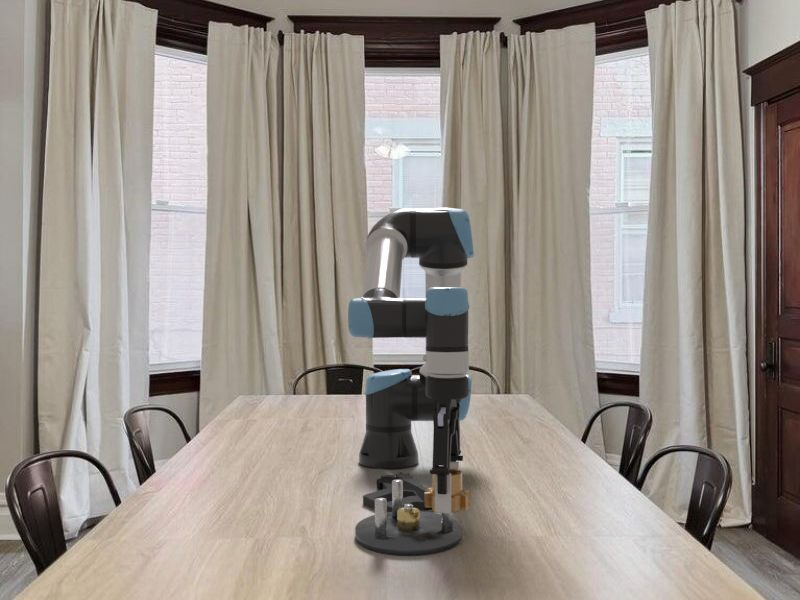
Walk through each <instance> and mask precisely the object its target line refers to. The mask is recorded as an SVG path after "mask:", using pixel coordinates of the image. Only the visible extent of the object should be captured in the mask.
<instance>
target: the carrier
mask: <svg viewBox="0 0 800 600" xmlns="http://www.w3.org/2000/svg"><path fill="white" fill-rule="evenodd" d="M354 530H355V531H354V538H355V542H357V544H358V545H360V546H361V547H362V548H365V549H366V550H369V551H371V552H375V553H379V554H384V555H389V556H391V555H392V556H403V557H404V556H406V557H413V556H414V557H415V556H425V555H426V556H429V555H433V554H438V553H442V552H445V551H448V550H451V549H453V548H454V547H457V545H459V544H460V543H461V541H462V540H463V527H462V524H461V523H460V522H459V521H457V520H456V519H455V518H454V513H443V512H441V514H440V513H437V512H429V511H423V510H419V509H417V508H413V505H412V504H405V505H404V508H403V481H402V480H393V481H392V512H387V500H386V499H385V498H376V499H375V510H374V514H372V515H369V516H368V517H365V518H363V519H361V520H359V521H358V523H357V524H356V525H355V529H354Z"/></svg>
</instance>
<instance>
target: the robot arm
mask: <svg viewBox="0 0 800 600" xmlns="http://www.w3.org/2000/svg"><path fill="white" fill-rule="evenodd" d="M469 215H470V214H469V213H468V212H467V211H466V210H465V209H463V208H453V207H438V208H437V207H436V208H434V207H433V208H432V207H431V208H402V209H398V210H395V211H392V212H390V213H388V214H386V215H384V216H383V217H382V218H381V219H379V220H378V221H377V222H376V223H375V224H374V225H373V226H372V228H371V229H370V230H369V232H368V235H367V237H366V242H365V251H366V254H367V256H368V257H367V264H366V271H365V276H364V283H363V288H362V289H363V290H362V296H361V297H357V298H352V299H350V301H349V302H348V309H347V323H348V324H347V326H348V332H349V334H350V335H351V336H352V337H353V338H366V339H373V338H375V339H378V338H380V339H381V338H385V339H386V338H394V339H395V338H406V339H407V338H409V339H410V338H411V339H412V338H413V339H414V338H417V339H419V338H422V339H423V338H425V355H423V356H422V360H423V361H424V364H423V365H422V366H420V368H419V374H412V373H413V372H412V371H411V369H408V368H398V369H397V368H396V369H390V370H384V371H383V370H382V371H379V372H375V373H372V374H370V375H368V377H367V378H366V382H365V391H364V395H365V433H364V437H363V440H362V443H361V446H360V449H359V453H358V463H359V464H360V465H362V466H365V467H367V468H373V469H389V470H390V469H403V468H409V467H412V466H415V465H417V464H418V463H419V451H418V449H417V444H416V442H415V439H414V436H413V432H412V422H433V439H432V440H433V442H432V468H431V469H429V473H430V475H432V474H435V512H434V513H442V512H443V513H451V474H450V469H457V470H460V466H459V465H460V462H463V460H464V455H461V453H462V450H461V430H460V429H461V426H460V425H461V424H460V422H461V421H464V420H465V419H466V418H467V415H468V413H469V408H470V404H471V396H472V392H471V391H472V376H471V375H469V374H468V373H469V372H470V362H469V361H470V353H469V352H470V351H469V310H470V303H469V292H468V290H467V289H466V288H464V287H462V271H463V270H464V269H465V268H466V267H467V266H468V259H471V258H473V257H474V256H475V254H474V241H473V234H472V227H471V221H470V216H469ZM405 258H411V259H412V258H413V259H417V258H418V266H419V267H420V268H421V269H422V270H423V271H424V272H425V274H424V275H425V276H424V277H425V297H418V298H416V297H415V298H413V297H409V298H408V297H401V285H402V272H403V269H402V268H403V260H405Z"/></svg>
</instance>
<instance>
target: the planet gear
mask: <svg viewBox="0 0 800 600" xmlns="http://www.w3.org/2000/svg"><path fill="white" fill-rule="evenodd" d="M450 474H451V513H453V514H456V512H457V511H467V510H469V507H470V506H471V490H470V489H463V471H462V470H461V469H459V470H457V469H450ZM431 476H432V477H431V487H428V488H426V489H427V492H424V506H425V508H432V510H431V511H432V512H433V513H436V512H435V474H431Z"/></svg>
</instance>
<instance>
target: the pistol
mask: <svg viewBox="0 0 800 600" xmlns="http://www.w3.org/2000/svg"><path fill="white" fill-rule="evenodd" d="M393 480H402V481H403V508H404V505H405V504H412V505H413V508H417V509H419V510H420V511H423V512H426V511H432V508H425V506H424V492H427V489H428V488H426V487H424V485H423V484H422V483H420V482H419V481H418V480H417V479H416V478H415V477H414V476H413V475H412V474H411V473H409V472H407V473H404V472H398V473H396V474H381V475H380V477H379V478H376V488H377V490H376V491H373V492H369V493H367V494H364V495H362V505H364V506H365V507H368V508H369V509H373V511H375V499H376V498H385V499H386V500H387V512H392V481H393Z"/></svg>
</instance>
